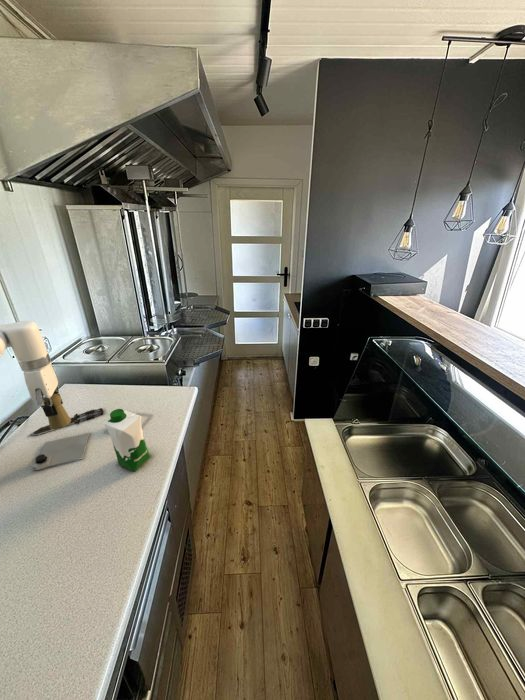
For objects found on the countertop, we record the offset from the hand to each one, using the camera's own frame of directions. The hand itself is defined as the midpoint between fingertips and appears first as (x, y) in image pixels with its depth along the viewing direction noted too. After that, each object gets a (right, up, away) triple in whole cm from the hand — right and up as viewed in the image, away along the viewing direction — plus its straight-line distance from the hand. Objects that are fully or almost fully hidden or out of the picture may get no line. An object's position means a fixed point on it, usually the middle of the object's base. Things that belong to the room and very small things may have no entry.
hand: (54, 409), depth 94 cm
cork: (0, -5, +3) cm, 6 cm away
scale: (-2, -17, +7) cm, 18 cm away
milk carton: (+25, -19, +3) cm, 31 cm away
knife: (-9, -10, +21) cm, 25 cm away
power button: (-5, -17, +1) cm, 18 cm away
